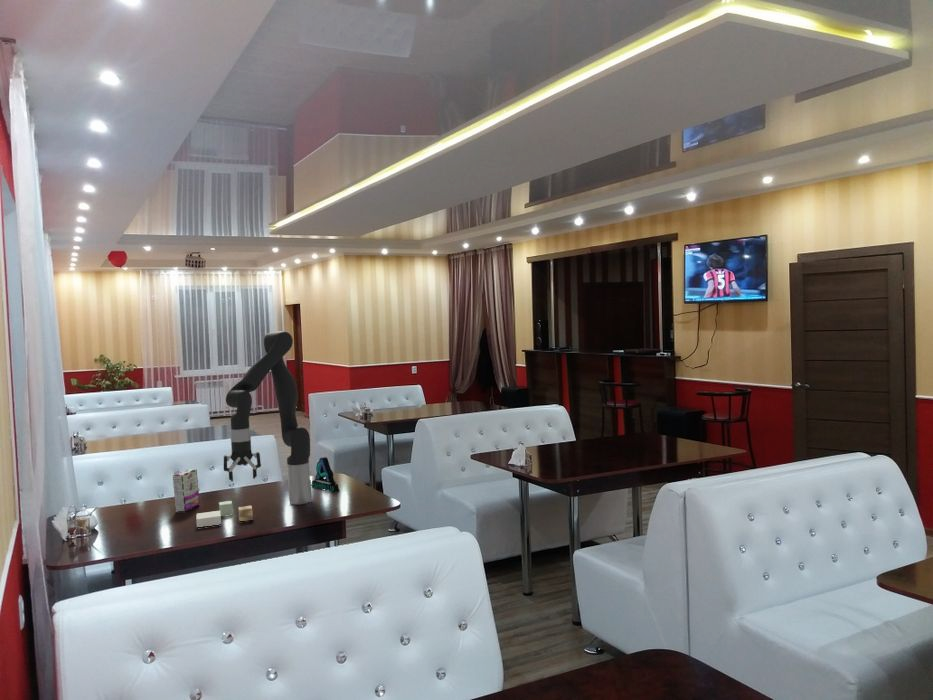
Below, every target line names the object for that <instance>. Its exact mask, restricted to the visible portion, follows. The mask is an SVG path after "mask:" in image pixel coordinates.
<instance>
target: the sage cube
mask: <svg viewBox="0 0 933 700" xmlns="http://www.w3.org/2000/svg"><path fill="white" fill-rule="evenodd" d="M218 511H220V514H221V516H223V517H225V516H224V515H230V516H232V515H231V514H233V515H234V510H233V502H232V500H226V501H219V502H218Z"/></svg>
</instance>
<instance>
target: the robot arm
mask: <svg viewBox="0 0 933 700" xmlns="http://www.w3.org/2000/svg"><path fill="white" fill-rule="evenodd" d="M263 339H264V340H263V347H264V351H265V355H264V356H262V357H261V358H259V360H258V361H256V362H255V363H254V364H252V366H251V367H250V368H249V369H248V371H246V373H245V374H244V376H243V377H242V379H241V380H239V381H238V382H237V383H236V384H235V385H234V386H232V387H231V388H230V389H229V390H228V392H227V394H226V396H225V403H226V405H227V406H228V407H231V408H236V413H234V414H232V415H230V445H231V454H230V455H227V454H226V455H225V454H224V456H223V471H224V472H227V473H228V479H229V480H230V482H233V481H234V478H233V477H234V476H233V475H234V473H233V470H234V468H236V466H242V465H243V466H244V465H245V466H247V465H249V466H250V467H251V468H252V479H253V480H255V479H256V478H257V476H258V474H257V473H258V471H257V470H258V469H259V468H261V467H262V463H261V454H260V452H259V451H256V452H254V453H253V452H252V442H251V441H252V440H251V439H252V436H251V431H250V430H251V429H250V415H251V410H252V405H253V398H252V394H251V393H252V392H254V391H256V390H257V389H258V388H259V386H260V385H261V383H263V380H264V379H265V377H267V375H268V374H269V372H270V371H271V376H272V381H273V386H274V387H273V389H274V393H275V398H276V401H277V402H276V403H277V407H278V408H277V409H278V413H279V419H280V429H281V437H282V441H283V444H285V445H286V446H287V447H289V448H290V455H289V456H288V457H287V458H286V465H287V466H286V467H287V481H288V482H287V484H288V497H289V498H288V499H289V500H288V501H289V504H290V505H304V504H308V502H309V503H312V502H313V496H312V495H313V494H312V493H313V492H312V487H311V485H312V480H311V475H310V455H311V438H310V437H311V436H310V433H309V430H308V429H307V428H305V427H303V426H299V424H298V420H297V415H296V414H297V413H296V412H297V405H298V399H299V393H298V388H297V382H296V380H295V377H294V375H293V374H292V373H291V372H290V370H289V369H288V367H287V366H286V363H285V361H284V356H286V354H287V353H288V352H289V351H290V350H291V348H292V347H293V342H294V341H293V336H292V335H291V333H289V332H287V331H282V330H279V331H271V332H268V333H266V334H265V336H264V338H263ZM253 457H254V458H255V459H256V464H255V463H253V461H252V458H253ZM230 460H232V463H231V465H230V466H229V467H228V462H229V461H230Z"/></svg>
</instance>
